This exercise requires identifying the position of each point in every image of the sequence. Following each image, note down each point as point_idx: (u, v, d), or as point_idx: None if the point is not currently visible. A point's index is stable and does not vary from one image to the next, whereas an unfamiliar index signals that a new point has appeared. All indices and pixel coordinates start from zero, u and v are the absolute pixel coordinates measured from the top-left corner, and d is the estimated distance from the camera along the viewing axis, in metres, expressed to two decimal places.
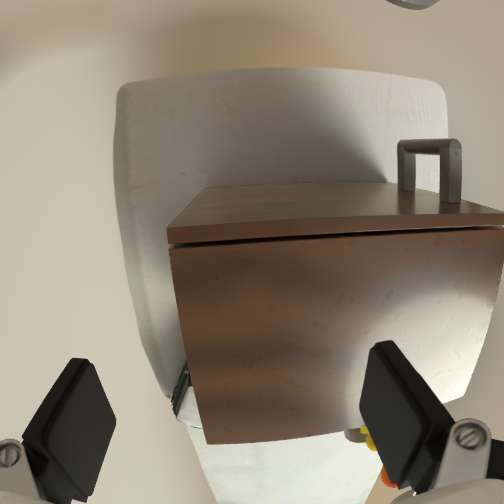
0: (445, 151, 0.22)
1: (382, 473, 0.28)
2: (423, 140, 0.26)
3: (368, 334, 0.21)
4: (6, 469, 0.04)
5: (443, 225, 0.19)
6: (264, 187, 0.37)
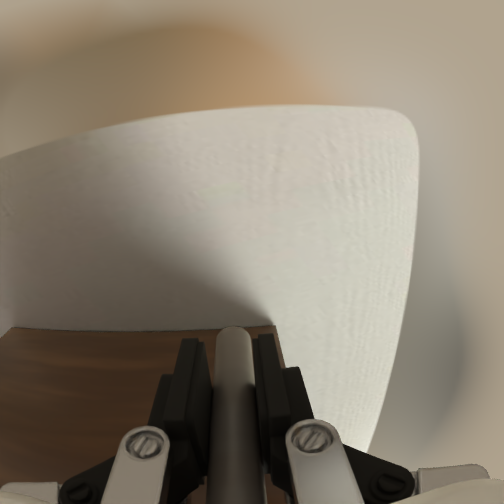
0: None
1: None
2: (217, 411, 0.09)
3: None
4: (135, 459, 0.05)
5: None
6: (46, 355, 0.20)
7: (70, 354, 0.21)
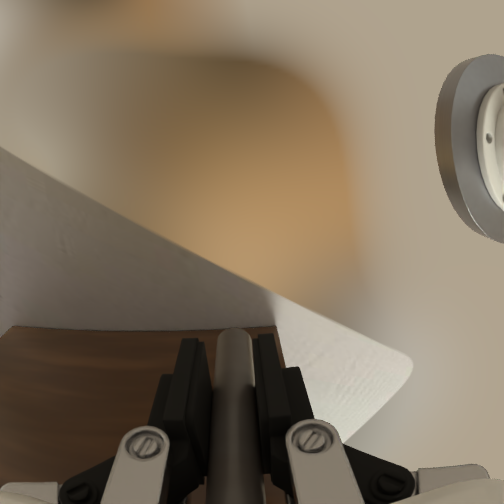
0: None
1: None
2: (217, 413, 0.09)
3: None
4: (134, 459, 0.05)
5: None
6: (47, 354, 0.20)
7: (71, 353, 0.21)
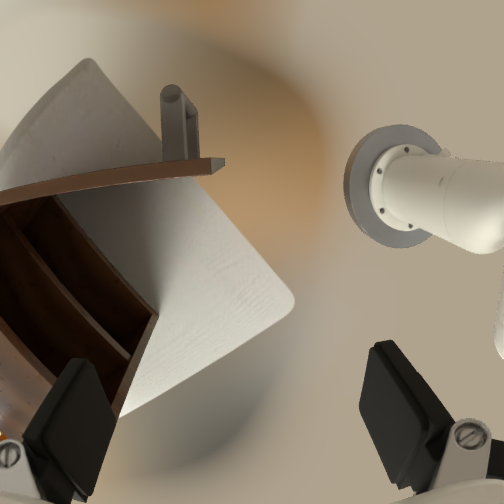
0: None
1: None
2: None
3: None
4: (6, 469, 0.04)
5: (85, 187, 0.17)
6: None
7: None
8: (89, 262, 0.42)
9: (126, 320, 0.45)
